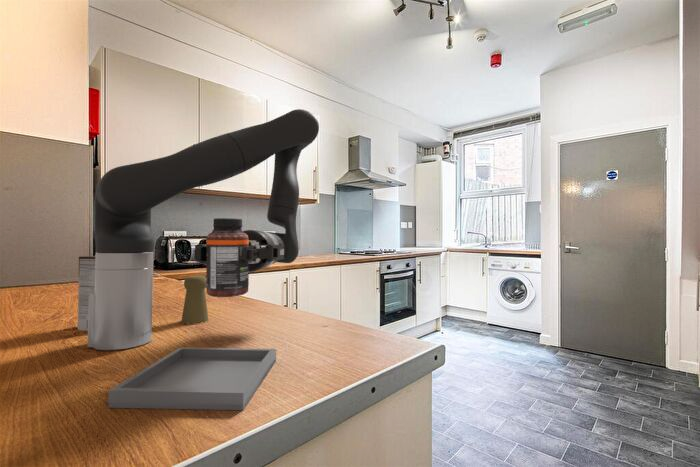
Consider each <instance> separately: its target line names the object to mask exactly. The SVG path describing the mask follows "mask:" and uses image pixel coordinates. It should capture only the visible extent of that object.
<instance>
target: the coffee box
mask: <svg viewBox="0 0 700 467" xmlns="http://www.w3.org/2000/svg"><path fill="white" fill-rule="evenodd" d="M77 292H78V299H77V300H78V302H77V305H78V306H77V308H78V310H77V316H78V317H77V330H78V331H81V332H82V331H83V332H88V307H89V295H90V294H93V293H95V255H87V256H85V255H83V256H78V291H77Z"/></svg>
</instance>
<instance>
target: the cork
mask: <svg viewBox="0 0 700 467" xmlns="http://www.w3.org/2000/svg"><path fill="white" fill-rule="evenodd" d="M183 282H184V283H183V285H184V289H185V290H186V292H185V297H184V304H183V309H182V310H183V311H182V315H181V322H182V323H181V322H180V323H181V324H183V323H189V324H188V325H193V324H192V323H199V324H202V323H201V322H204V323H206V322H205V321H207V320H208V321H209V314H208V306H207V297H206V289H207V288H206V276H204V275H199V274H198V275H197V274H196V275H190V276H187V277H186V278H184V281H183ZM208 321H207V322H208Z"/></svg>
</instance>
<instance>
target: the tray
mask: <svg viewBox="0 0 700 467" xmlns="http://www.w3.org/2000/svg"><path fill="white" fill-rule="evenodd" d="M276 362H277V348H248V347H247V348H246V347H245V348H240V347H236V348H234V347H186V346H185V347H183V346H182V347H178V348H177V349H175V350H173V351H171V352H170V353H168V354H166V355H165V356H163V357H161V358H160V359H159V360H157V361H155V362H154V363H152V364H150V365H148V366H147V367H145V368H144V369H142V370H140V371H138V372H137V373H135V374H134V375H132V376H130V377H128V378H127V379H125V380H123V381H122V382H120V383H119V384H117V385H115V386H114V387H112V388H110V389H109V390H108V393H107V398H108V399H107V400H108V401H107V404H108V406H107V408H108V409H110V408H111V409H112V408H114V409H157V410H158V409H160V410H162V409H163V410H164V409H165V410H205V411H207V410H210V411H215V410H216V411H244V410H245V408H246V407H247V406H248V404H249V402H250V401H251V400H252V398H253V396H254V395H255V394H256V392H257V390H258V389H259V387H260V386H261V384H262V383H263V381H264V380H265V378H266V377H267V375H268V374H269V372H270V371H271V369H272V368H273V366H274V365H275V364H276Z"/></svg>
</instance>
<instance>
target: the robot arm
mask: <svg viewBox="0 0 700 467" xmlns="http://www.w3.org/2000/svg"><path fill="white" fill-rule="evenodd" d="M319 124H320V123H319V121H318V119H317V118H316V115H315V114H314V113H312V112H310V111H308V110H306V109H300V108H299V109H298V108H297V109H293V110H290V111H288V112H286V113H285V114H282V115H281V116H280V115H279V117H276V118H274V119H271V120H268V121H266V122H264V123H260V124H257V125H253V126H248V127H244V128H241V129H238V130H237V129H236V130H234V131H231V132H226V133H223V134H220V135H218V136H217V135H216V136H215V137H211V138H208V139H205V140H203V141H200V142H197V143H195V144H193V145H191V146H188V147H186V148H183V149H182V150H179V151H176V152H175V153H172V154H170V155H166V156H163V157H158V158H154V159H149V160H146V161H141V162H136V163H132V164H130V163H129V164H125V165H121V166H117V167H114V168H112V169H109V170H108V171H107V172H106V173H105V174H104V175H103V176H102V177H101V178H100V180H99V181H98V183H97V185H96V187H95V188H96V189H95V195H94V196H95V198H94V200H95V201H94V208H95V209H94V239H95V241H94V242H95V255H94V256H95V293H93V294H90V295H89V307H88V331H87V347H86V348H93V349H95V350H97V351H98V350H99V351H100V350H101V351H117V350H124V349H125V350H126V349H130V348H135V347H139V346H143V345H145V344H148V343H149V342H151V341H152V337H153V336H152V333H153V300H154V299H153V298H154V297H153V296H154V295H153V293H154V292H153V291H154V254H155V252H154V251H155V250H154V248H155V246H154V245H155V244H154V243H155V240H154V237H153V233H152V209H153V208H155V207H157V206H158V205H160V204H162V203H164V202H165V201H168V200H170V199H171V198H173V197H175V196H177V195H180V194H182V193H185V192H186V191H188V190H192V189H195V188H199V187H204V186H208V185H213V184H215V183H218V182H223V181H225V180H229V179H230V178H233V177H236V176H238V175H241V174H243V173H245V172H247V171H249V170H251V169H253V168H255V167H257V166H258V165H260V164H261V163H263V162H265V161H266V160H267V159H269V158H271V157H272V156H274V166H273V169H274V170H273V178H272V185H271V186H272V187H271V191H270V197H269V202H268V208H267V214H266V218H267V221H268V222H269V223H271V224H273V225H275V226H279V227H281V228H283V229H285V230H284V231H285V233H283V232H282V233H281V232H272V231H264V230H257V229H256V230H255V229H254V230H253V229H247V230H242V231H243V233H246V234H247V235H248V239H249V246H248V247H243V248H242V262H249V273H250V272H251V273H253V272H257V271H260V270H262V269H265V268H268V267H270V266H271V265H274V264H275V263H280V264H282V263H283V264H292V263H293V262H294V261H295V260H296V259H297V257H298V256H299V250H300V248H299V240H298V235H297V215H298V214H297V213H298V207H299V200H300V188H299V187H300V186H299V182H298V175H297V169H298V162H299V158H300V156H301V153H302V150H304V149H306V148H307V147H308V146H309V145H311V144H312V143H313V142H314V141H315V140H316V138H317V137H318V134H319V132H320V125H319ZM206 244H207V243H205V244H201V243H198V244H195V245H194V250H193V251H194V252H193V254H194V255H193V256H194V258H193V259H194V261H196V263H204V262H205V263H206Z"/></svg>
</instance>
